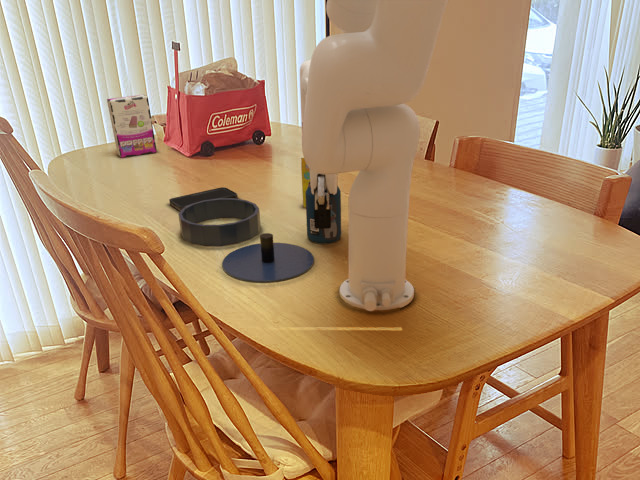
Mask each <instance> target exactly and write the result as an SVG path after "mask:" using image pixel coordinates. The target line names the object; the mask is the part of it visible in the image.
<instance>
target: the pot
mask: <svg viewBox="0 0 640 480" xmlns="http://www.w3.org/2000/svg"><path fill="white" fill-rule="evenodd" d="M260 212H261V211H260V208H259V206H258V205H257V204H256V203H254V202H252V201H250V200H247V199H242V198H238V199H235V198H218V199H211V200H204V201H200V202H196V203H193V204H190V205H188V206H187V207H185V208H183V209H182V210H181V211H179V213H178V214H177V215H178V221H179V228H180V235H181V237H182V240H184V241H186V242H188V243H189V244H192V245H197V246H202V247H225V246H232V245H239V244H241V243H245V242H247V241H249V240H250V241H251V240H253V238H255V237H256V236H257V235H259V234H260V231H261V229H262V226H261V213H260ZM219 219H237V221H234V222H227V223H222V224H202V223H203V222H206V221H210V220H219Z"/></svg>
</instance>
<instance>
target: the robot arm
mask: <svg viewBox="0 0 640 480" xmlns="http://www.w3.org/2000/svg"><path fill="white" fill-rule="evenodd" d="M448 3H449V0H327V1H326V7H325V8H326V15H327V17H328V19H329V22H331V24H333V26H334V27H335V28H337V29H338V30H340V31H341V32H342V33H336V34H331V35H328V36H326V37H324V38H323V39H321V41H319V43H317V45H316V47H315V49H314V50H313V52H312V55H311V58H310V59H308V60H305V61H304V62H302V63H301V65H300V67H299V88H300V89H299V92H300V93H299V94H300V118H301V119H300V120H301V150H302V155H303V158H304V159H305V162H306V164H307V165H308V167H309V169H310V183H311V193H312V194H313V195H315V208H314V225H315V228H316V229H329V228H331V208H329V196H330V194H333V195H335V194H336V193H337V183H339V181H338V178H339V177H338V176H339V174H345V173H352V172H353V173H354V172H358V173H357V175H356V176H355V178H354V181H353V182H352V184H351V187H350V191H349V195H348V278H347V279H345V280H344V281H343V282H342V283H341V284H340V286H339V296H340V297H341V299H342V300H343V301H344V302H345V303H346V304H348V305H350V306H353V307H355V308H358V309H363V310H366V311H368V312H373V311H387V310H393V309H398V308H399V309H402V308H404V307H405V306H407V305H409V304H410V303H411V302H412V301H413V299H414V297H415V288H414V286H413V284H412V283H411V282H410V281H408V280H407V279H406V273H407V253H408V252H407V251H408V233H409V231H408V230H409V213H410V211H409V210H410V198H411V197H410V195H411V184H412V183H411V182H412V176H413V175H412V174H413V169H414V164H415V160H416V155H417V151H418V148H419V142H420V135H421V134H420V132H421V131H420V130H421V129H420V122H419V118H418V115H417V114H416V112H415V110H414V109H413V108H411V106H410V105H407V103H410V102H412V101H414V100H415V99H416V98H417V97H418V96H419V94H420V93H421V91H422V90H423V87H424V84H425V82H426V78H427V75H428V72H429V68H430V64H431V61H432V58H433V54H434V50H435V47H436V43H437V41H438V36H439V32H440V29H441V25H442V20H443V17H444V15H445V11H446V8H447V5H448ZM317 190H318V193H317ZM325 190H327V193H325ZM314 193H315V194H314ZM329 193H330V194H329ZM325 196H326V199H325Z"/></svg>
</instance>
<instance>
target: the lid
mask: <svg viewBox="0 0 640 480" xmlns="http://www.w3.org/2000/svg"><path fill="white" fill-rule="evenodd" d="M314 264H315V257H314V255H313V253H312V252H311V251H309V249H307V248H305V247H302V246H300V245H297V244H293V243H286V242H274V234H272V233H271V232H270V233H269V232H267V233H261V234H260V235H259V243H253V244H249V245H245V246H243V247H239V248H237V249H235V250H233V251H231V252H229V253H228V254H226V256H225V257H224V258H223V259H222V267H221V268H222V269H223V272H224V273H225V274H227V275H228V276H230V277H231V278H232V279H233V278H234V279H236V280H239V281H243V282H249V283H257V284H258V283H260V284H261V283H262V284H263V283H264V284H265V283H268V284H269V283H277V282H284V281H288V280H291V279H295V278H297V277H300V276H302V275H305V273H307V272H309V270H311V269H312V267H313V266H314Z"/></svg>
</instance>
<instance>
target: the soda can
mask: <svg viewBox="0 0 640 480" xmlns="http://www.w3.org/2000/svg"><path fill="white" fill-rule="evenodd" d="M338 183H339V182H338ZM338 183H337V193H336V194H335V195H333V194H330V193H329V194H330V196H329V208H331V228H329V229H316V228H315V225H314V208H315V195H313V194H312V193H311V183H310V182H309V183H308V188H307V190H306V208H305V214H306V216H305V217H306V237H307V238H308V240H309V241H310V242H312V243H314V244H320V245H325V244H326V245H327V244H334V243H336V242H338V241H339V240H340V238H341V236H342V191H341V189H340V187H339V184H338ZM317 193H318V190H317ZM325 193H327V190H325ZM314 194H315V193H314ZM325 199H326V196H325Z"/></svg>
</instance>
